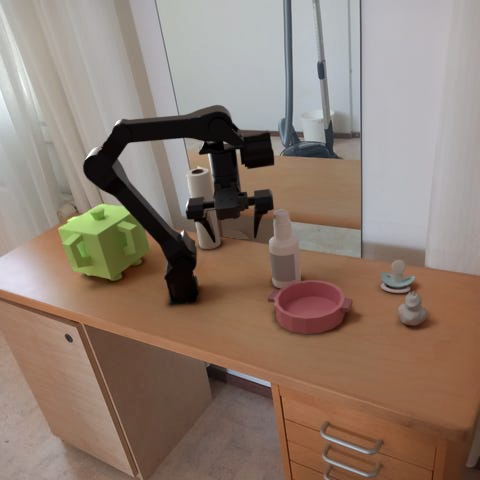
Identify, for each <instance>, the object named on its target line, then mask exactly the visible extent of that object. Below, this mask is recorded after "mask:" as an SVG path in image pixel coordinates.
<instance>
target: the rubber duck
mask: <svg viewBox="0 0 480 480" xmlns="http://www.w3.org/2000/svg"><path fill="white" fill-rule="evenodd" d="M422 300H423V299H422V296H421V295H420V294H419V293H418V292H417V293H416V292H415V290H413V291H412V292H411V291H408V293H407V294H406V295H405V298H404V303H401V304H400V305H399V307H398V309H397V315H398V318H399V319H400V321H401V323H403V324H404V325H407V326H414V327H415V326H419V325H420V324H421V323H423V322H424V321H425V320H426V318H427V316H428V309H427V308H426V307H424V306H423V305H422V303H423V302H422Z"/></svg>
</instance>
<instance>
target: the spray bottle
mask: <svg viewBox="0 0 480 480" xmlns="http://www.w3.org/2000/svg"><path fill="white" fill-rule="evenodd" d="M272 223H273V236H272V237H271V238H270V239H269V241H268V247H269V248H268V250H269V260H270V270H271V279H272V281H271V282H272V284H273V286H274V287H275V288H277V289H279V290H281V289H283V288H284V287H286V286H287V285H289V284H292V283H295V282H298V281H302V274H301V256H300V254H301V253H300V241H299V238H298V236H296V235H295V234H293V229H292V220H291V217H290V212H289V211H288V210H287V209H285V208H279V209H276V210H274V211H273V221H272Z"/></svg>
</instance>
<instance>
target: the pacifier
mask: <svg viewBox="0 0 480 480" xmlns="http://www.w3.org/2000/svg"><path fill="white" fill-rule="evenodd" d="M405 271H406V263H405V262H404V261H403V260H402V259H396V260H394V261H393V262H392V264H391V272H392V273H390V272H381V274H380V278H381V281H382V283H381V284H380V288H381V289H382V290H383V291H385V292H388V293H392V294H406V293H409V292H411V286H410V285H411V284H412V283H414V281H415V280H416V276H415V275H408V276H407V275H406V276H404V273H405ZM387 286H388V287H387Z"/></svg>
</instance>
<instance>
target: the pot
mask: <svg viewBox="0 0 480 480" xmlns="http://www.w3.org/2000/svg"><path fill="white" fill-rule="evenodd" d="M353 300H354V299H353V298H349V297H346V296H345V293H344V291H343V289H341V288H340V287H339V286H337V285H336V284H334V283H331V282H328V281H325V280H317V279H307V280H301V281H298V282H295V283H292V284H289V285H287V286H286V287H284V288H283V289H272V291H271V293H270V294H269V296H267V302H268V303H274V307H275V317H276V322H277V323H278V324H279V325H280V326H281V327H282V328H283V329H285V330H287V331H289V332H291V333H296V334H303V335H315V334H322V333H325V332H328V331H330V330H332V329H335V328H336V327H337V326H339V325H340V324H341V323H342V322H343V320H344V318H345V316H346V313H349V312H350V310H351V307H352V305H353V304H354V303H353V302H354V301H353Z"/></svg>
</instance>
